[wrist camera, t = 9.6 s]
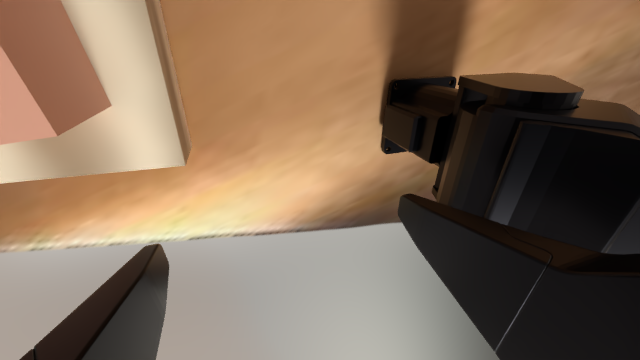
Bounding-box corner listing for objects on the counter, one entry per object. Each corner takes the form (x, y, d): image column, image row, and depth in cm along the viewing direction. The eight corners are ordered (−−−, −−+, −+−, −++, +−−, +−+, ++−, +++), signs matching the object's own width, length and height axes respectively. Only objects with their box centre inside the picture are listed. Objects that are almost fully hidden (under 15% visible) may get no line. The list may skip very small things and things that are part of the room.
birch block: (149, -50, 14) (125, -79, 10) (192, 143, 19) (185, 165, 16) (-152, -85, 11) (-327, -145, 7) (-1, 158, 16) (-63, 189, 12)
